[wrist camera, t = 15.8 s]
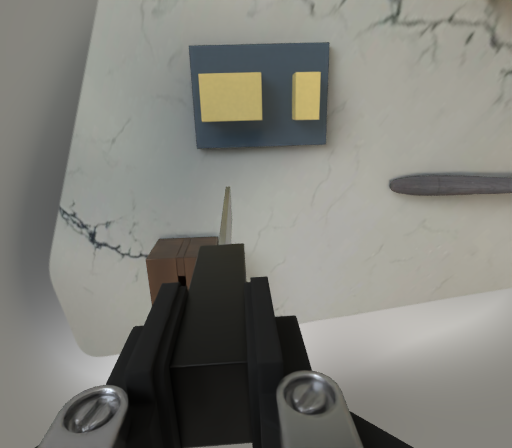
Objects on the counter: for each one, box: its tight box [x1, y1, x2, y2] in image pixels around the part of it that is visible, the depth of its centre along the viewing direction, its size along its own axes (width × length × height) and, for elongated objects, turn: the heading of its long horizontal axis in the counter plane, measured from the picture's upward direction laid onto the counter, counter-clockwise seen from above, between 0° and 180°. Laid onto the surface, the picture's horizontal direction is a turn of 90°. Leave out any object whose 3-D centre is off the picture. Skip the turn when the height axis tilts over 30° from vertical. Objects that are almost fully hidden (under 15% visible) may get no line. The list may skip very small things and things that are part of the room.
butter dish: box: [189, 42, 329, 149], centre depth 35 cm, size 14×10×3 cm
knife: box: [169, 187, 252, 448], centre depth 16 cm, size 2×2×18 cm
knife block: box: [146, 237, 218, 306], centre depth 40 cm, size 7×7×6 cm
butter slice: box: [292, 72, 321, 120], centre depth 35 cm, size 2×4×2 cm, turn 1°
